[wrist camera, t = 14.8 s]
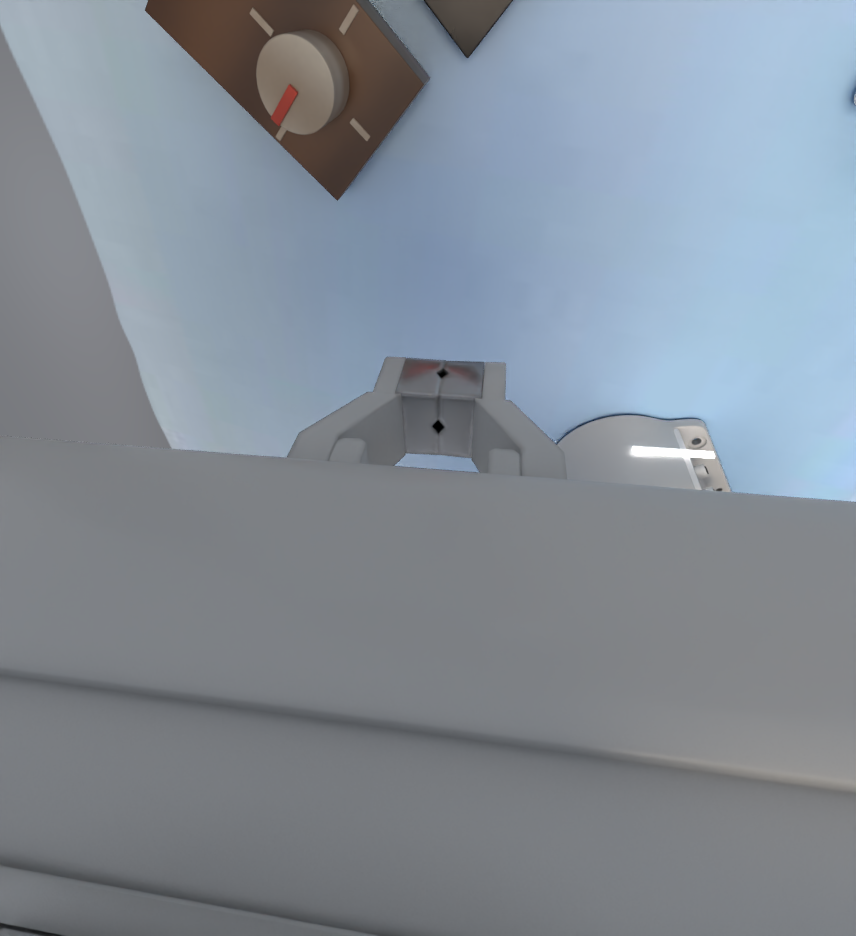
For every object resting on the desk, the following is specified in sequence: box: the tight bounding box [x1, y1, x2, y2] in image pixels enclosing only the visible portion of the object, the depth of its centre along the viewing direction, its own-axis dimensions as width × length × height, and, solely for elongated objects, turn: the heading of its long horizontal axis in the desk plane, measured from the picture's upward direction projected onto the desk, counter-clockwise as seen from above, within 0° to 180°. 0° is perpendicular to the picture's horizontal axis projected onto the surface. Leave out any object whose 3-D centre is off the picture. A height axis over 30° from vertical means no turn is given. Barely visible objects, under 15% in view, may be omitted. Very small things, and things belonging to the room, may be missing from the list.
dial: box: [256, 29, 349, 135], centre depth 27 cm, size 4×4×4 cm
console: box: [145, 0, 430, 200], centre depth 29 cm, size 14×9×3 cm, turn 46°
